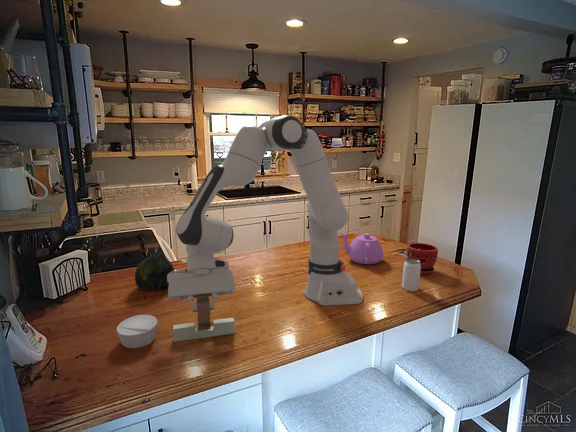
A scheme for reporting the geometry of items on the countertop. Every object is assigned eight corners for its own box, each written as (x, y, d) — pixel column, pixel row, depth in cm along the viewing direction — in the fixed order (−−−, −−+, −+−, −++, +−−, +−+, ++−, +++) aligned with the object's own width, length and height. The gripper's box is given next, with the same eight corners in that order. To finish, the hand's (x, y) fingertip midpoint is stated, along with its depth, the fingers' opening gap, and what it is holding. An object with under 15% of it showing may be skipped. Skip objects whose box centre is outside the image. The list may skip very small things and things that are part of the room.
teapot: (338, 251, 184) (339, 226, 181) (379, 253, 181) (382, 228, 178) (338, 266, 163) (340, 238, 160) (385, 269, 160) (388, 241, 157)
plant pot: (441, 272, 158) (444, 247, 155) (423, 278, 151) (426, 252, 148) (416, 263, 169) (419, 240, 166) (399, 268, 161) (401, 244, 159)
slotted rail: (233, 329, 109) (233, 317, 108) (234, 333, 107) (234, 321, 106) (174, 337, 104) (173, 325, 104) (174, 341, 102) (173, 329, 101)
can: (420, 288, 141) (424, 260, 138) (414, 293, 137) (417, 265, 134) (405, 283, 146) (408, 256, 143) (398, 288, 141) (401, 260, 138)
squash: (121, 275, 135) (138, 252, 129) (151, 264, 148) (168, 243, 142) (142, 304, 133) (160, 281, 126) (171, 290, 146) (188, 269, 140)
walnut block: (197, 318, 108) (196, 295, 106) (209, 317, 109) (208, 293, 107) (198, 330, 101) (197, 305, 99) (210, 329, 102) (209, 304, 100)
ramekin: (117, 355, 96) (115, 338, 95) (118, 334, 106) (117, 318, 105) (159, 346, 101) (158, 329, 99) (157, 326, 110) (156, 311, 109)
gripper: (166, 266, 106) (166, 311, 99) (233, 261, 111) (237, 303, 104) (167, 274, 111) (168, 317, 104) (231, 269, 116) (235, 309, 110)
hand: (203, 310), depth 104 cm, fingers closed on walnut block, 3 cm apart
